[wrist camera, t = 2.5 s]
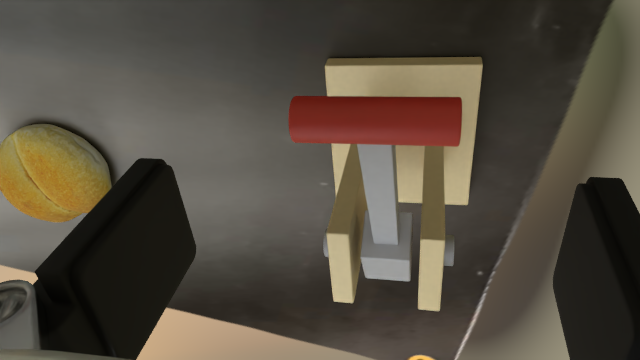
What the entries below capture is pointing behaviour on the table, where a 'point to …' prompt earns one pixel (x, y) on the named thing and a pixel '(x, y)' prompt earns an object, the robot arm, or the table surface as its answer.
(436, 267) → the bracket
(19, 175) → the bread roll
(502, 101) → the table surface
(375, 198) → the lever
